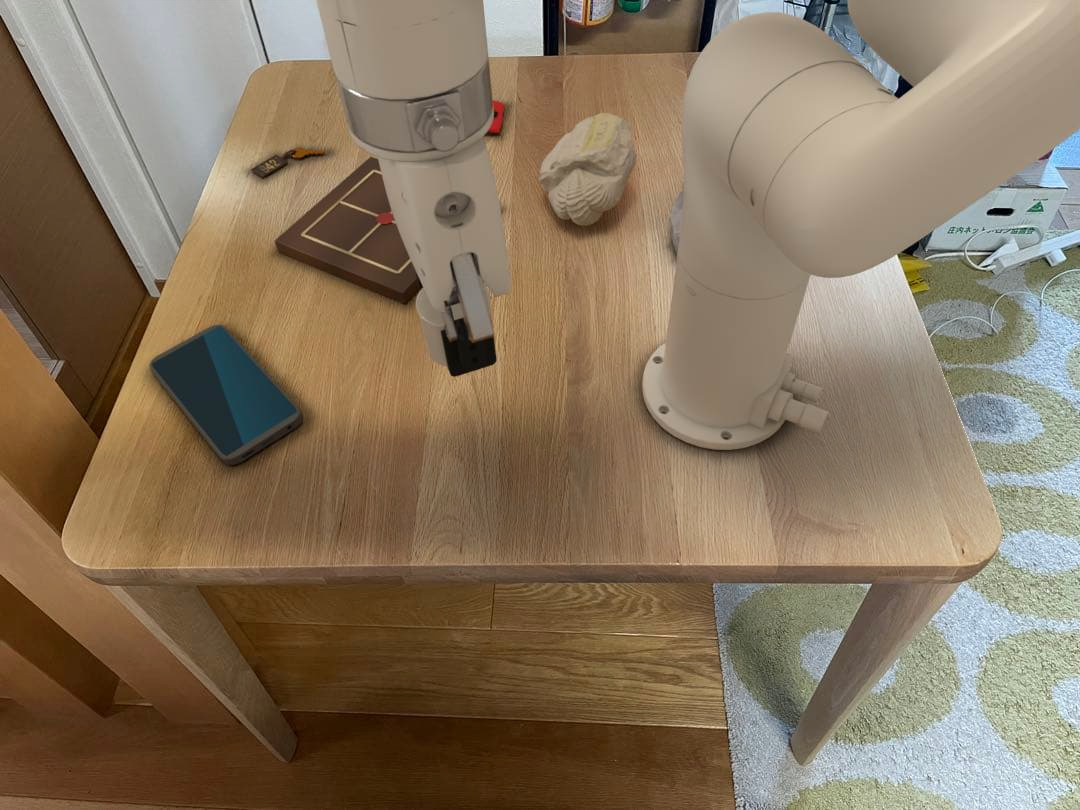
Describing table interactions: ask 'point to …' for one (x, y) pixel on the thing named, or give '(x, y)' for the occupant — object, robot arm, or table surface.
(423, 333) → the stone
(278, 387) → the smartphone
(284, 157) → the key tag
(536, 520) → the table surface
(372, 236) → the board
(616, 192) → the fossil replica
